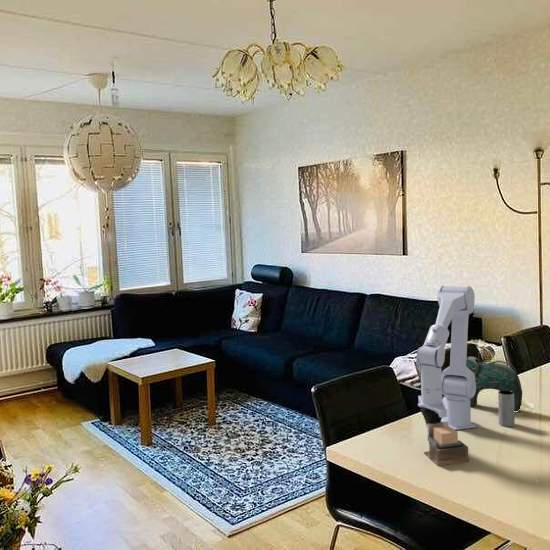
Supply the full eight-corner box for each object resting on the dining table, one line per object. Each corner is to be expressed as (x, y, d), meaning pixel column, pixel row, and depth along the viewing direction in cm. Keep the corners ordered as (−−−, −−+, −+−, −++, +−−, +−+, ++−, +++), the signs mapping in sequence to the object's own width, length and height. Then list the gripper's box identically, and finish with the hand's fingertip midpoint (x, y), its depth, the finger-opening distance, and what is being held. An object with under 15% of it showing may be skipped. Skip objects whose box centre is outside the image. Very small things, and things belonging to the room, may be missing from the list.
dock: (424, 453, 164) (423, 439, 164) (454, 449, 166) (453, 435, 165) (437, 465, 156) (437, 450, 155) (468, 461, 157) (468, 446, 157)
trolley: (427, 444, 165) (427, 423, 164) (447, 442, 166) (447, 421, 165) (440, 455, 157) (439, 433, 156) (461, 453, 158) (460, 430, 157)
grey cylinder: (514, 422, 184) (514, 390, 183) (514, 427, 180) (513, 394, 179) (499, 421, 186) (498, 389, 185) (498, 426, 182) (497, 393, 181)
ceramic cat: (459, 406, 202) (457, 349, 200) (464, 401, 208) (463, 345, 206) (520, 414, 191) (519, 354, 189) (524, 408, 196) (523, 350, 194)
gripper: (408, 382, 173) (409, 426, 175) (429, 396, 159) (431, 444, 160) (430, 379, 175) (431, 424, 176) (453, 393, 160) (455, 441, 162)
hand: (433, 433), depth 168 cm, fingers closed
